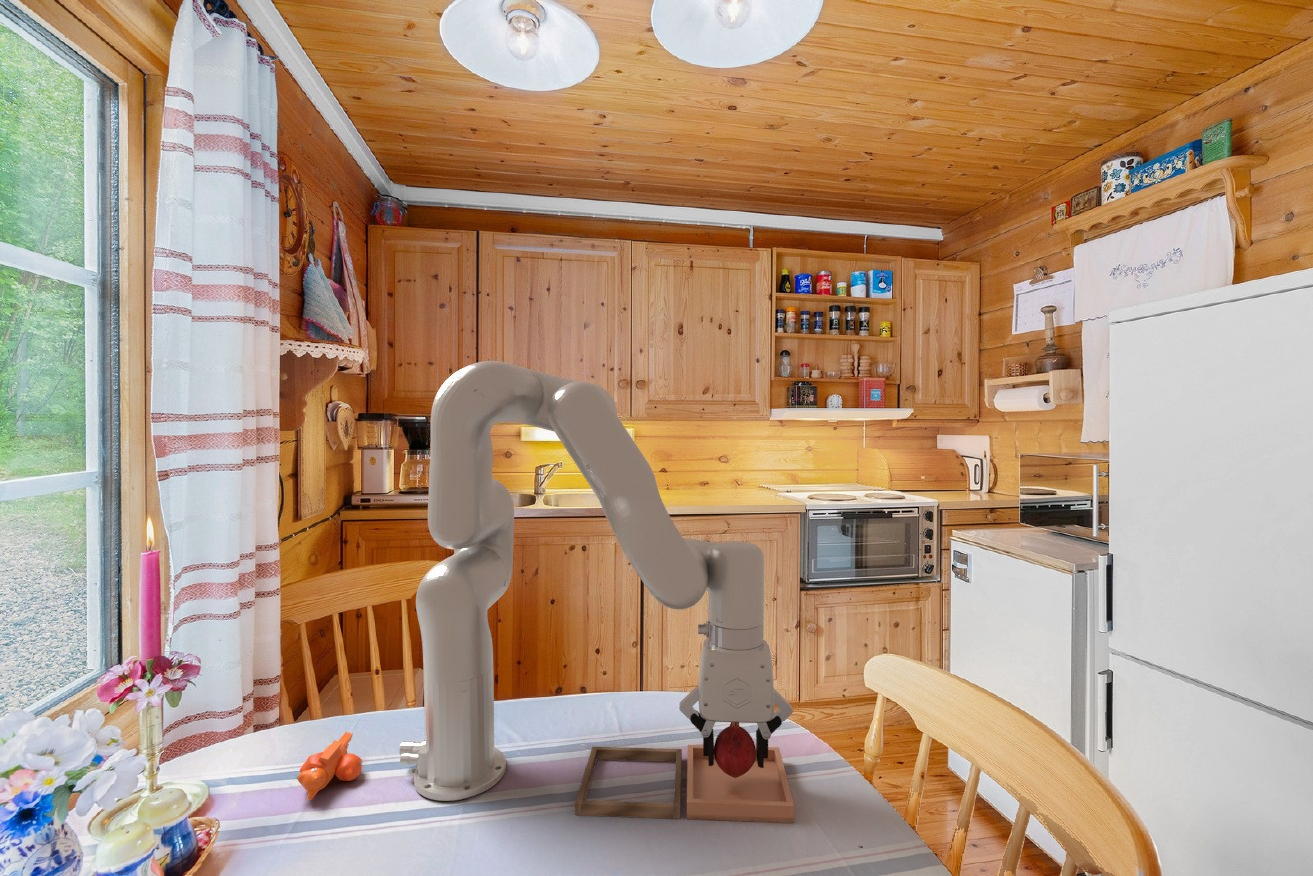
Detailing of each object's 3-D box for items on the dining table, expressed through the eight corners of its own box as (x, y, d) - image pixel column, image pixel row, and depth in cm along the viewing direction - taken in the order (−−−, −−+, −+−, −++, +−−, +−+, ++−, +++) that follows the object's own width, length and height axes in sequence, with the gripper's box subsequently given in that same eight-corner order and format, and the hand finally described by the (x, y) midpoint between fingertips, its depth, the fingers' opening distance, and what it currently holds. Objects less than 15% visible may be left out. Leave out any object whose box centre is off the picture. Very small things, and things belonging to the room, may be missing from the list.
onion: (755, 792, 81) (754, 733, 80) (712, 788, 82) (711, 730, 81) (757, 767, 86) (756, 712, 86) (716, 763, 87) (715, 709, 87)
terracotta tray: (686, 819, 78) (686, 802, 78) (687, 759, 91) (687, 744, 91) (794, 823, 77) (794, 806, 77) (779, 761, 90) (779, 747, 90)
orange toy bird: (334, 720, 92) (292, 766, 80) (382, 734, 93) (348, 781, 81) (323, 751, 92) (280, 801, 80) (372, 765, 93) (336, 817, 81)
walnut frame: (575, 815, 79) (574, 803, 78) (592, 756, 92) (592, 746, 92) (679, 818, 78) (679, 807, 78) (681, 758, 91) (681, 749, 91)
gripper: (672, 642, 80) (672, 775, 81) (804, 645, 79) (803, 780, 80) (673, 622, 87) (673, 744, 88) (794, 625, 86) (793, 748, 87)
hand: (735, 760), depth 84 cm, fingers open, 6 cm apart
